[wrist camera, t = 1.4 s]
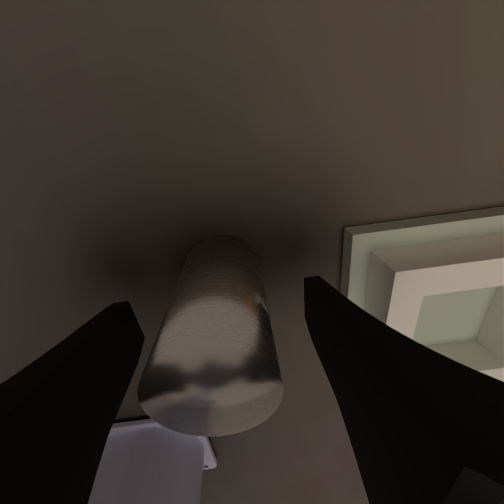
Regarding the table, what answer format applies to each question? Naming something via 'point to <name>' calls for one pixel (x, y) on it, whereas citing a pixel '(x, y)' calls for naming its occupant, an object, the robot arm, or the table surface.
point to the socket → (434, 282)
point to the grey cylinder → (214, 346)
